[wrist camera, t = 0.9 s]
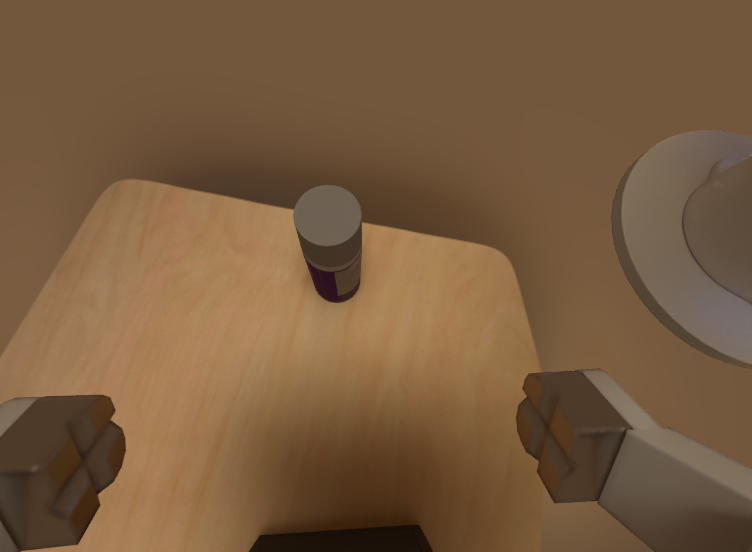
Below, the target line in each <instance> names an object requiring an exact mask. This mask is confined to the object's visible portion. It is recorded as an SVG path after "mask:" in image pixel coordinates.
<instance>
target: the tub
mask: <svg viewBox="0 0 752 552" xmlns="http://www.w3.org/2000/svg"><path fill="white" fill-rule="evenodd" d="M249 552H433V551H432V549H431V547H430V545H429V543H428V541H427V539H426V537H425V535H424V533H423V531H422V529H421V527H420V525H406V526H391V527H376V528H361V529H346V530H332V531H317V532H302V533H287V534H272V535H260V536H259V537H258V539H257V540H256V542H255V543H254V545H253V546H252V548H251V549H250V551H249Z"/></svg>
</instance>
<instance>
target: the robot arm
mask: <svg viewBox="0 0 752 552" xmlns="http://www.w3.org/2000/svg"><path fill="white" fill-rule="evenodd" d="M683 228H684V234H685V237H686V241H687V244H688V246H689V248H690V250H691V252H692V254H693V256H694V258H695V259H696V261H697V262H698V263H699V265H700V266H701V267H702V269H703V270H704V271H705V272H706V273H707V274H708V275H709V276H710V277H711V278H712V279H713V280H714V281H715V282H717V283H718V284H719V285H721V286H722V287H723V288H725V289H726V290H728V291H730V292H731V293H733V294H735V295H737V296H739V297H741V298H742V299H744V300H746V301H747V302H749V303H750V304H751V305H752V154H751V155H749V156H747V157H746V158H744V159H742V160H739V159H733V158H724V159H722V160H720V161H718V162H716V163H715V164H714V165H713V167H712V169H711V171H710V174H709V177H708V179H707V181H706V182H705V183H704V184H702V185H701V186H700V187H699V188H697V189H696V190H695V191H694V192H693V193H692V194H691V196H690V197H689V199H688V201H687V203H686V205H685V209H684V214H683ZM522 389H523V391H524V392H525V394H526V395H527V397H526V398H525V399H524V400H523V401H522V402H521V403H520V404H519V405H518V410H517V415H516V423H517V431H518V434H519V437H520V441H521V443H522V445H523V447H524V449H525V450H526V452H527V453H528V454H530V455H531V456H533V457H534V458H535V459H537V460H538V461H539V463H538V468H537V473H538V475H539V476H540V478H541V480H542V482H543V484H544V485H545V487H546V489H547V491H548V493H549V494H550V496H551V498H552V500H553V502H554V503H567V502H585V501H598V504H599V505H600V506H601V507H602V508H604V509H605V510H606V511H607V512H608V513H610V514H611V515H612V516H613V517H614V518H615V519H617V520H618V521H619V522H620V523H621V524H622V525H624V526H625V527H626V528H627V529H628V530H630V531H631V532H632V533H633V534H634V535H635V536H637V537H638V538H639V539H640V540H641V541H643V542H644V543H645V544H646V545H647V546H648V547H650V548H651V549H652V550H653V551H654V552H752V469H751V468H749V467H747V466H745V465H743V464H741V463H739V462H737V461H735V460H733V459H731V458H729V457H727V456H725V455H723V454H721V453H719V452H717V451H715V450H713V449H711V448H709V447H707V446H705V445H703V444H701V443H700V442H697V441H695V440H693V439H692V438H689V437H688V436H685V435H684V434H682V433H680V432H678V431H676V430H674V429H672V428H670V427H669V428H662V427H661V426H660V425H659V424H658V423H656V421H655V420H654V419H653V418H652V417H651V416H650V415H649V414H648V413H647V412H646V411H645V410H644V409H643V408H642V407H641V406H640V405H639V404H638V403H637V402H636V401H635V400H634V399H633V398H632V397H631V396H630V395H629V394H628V393H627V392H626V391H625V390H624V389H623V388H622V387H621V386H620V385H619V384H618V383H617V382H616V381H615V380H614V379H613V378H612V377H611V376H610V375H609V374H608V373H607V372H605V371H603V370H601V369H587V370H575V371H563V372H544V373H529V374H528V375H527V377H526V378H525V380H524V384H523V388H522ZM115 411H116V410H115V408H114V405H113V403H112V400H111V398H110V397H108V396H105V395H76V396H46V397H24V398H14V399H12V400H9V401H6V402H4V403H3V404H2V405H1V406H0V552H20V551H25V550H34V549H42V548H51V547H60V546H68V545H77V544H79V542H80V540H81V538H82V537H83V535H84V533H85V531H86V530H87V528H88V526H89V524H90V523H91V521H92V519H93V517H94V516H95V514H96V512H97V510H98V509H99V507H100V501H99V497H98V494H99V493H100V492H101V491H102V490H104V489H105V488H106V487H108V486H109V485H110V484H111V483H113V482H114V480H115V478H116V477H117V475H118V473H119V471H120V469H121V467H122V464H123V460H124V456H125V452H126V444H125V436H124V433H123V430H122V428H121V427H119V426H118V425H116V424H115V423H114V422H112V421H111V420H110V419H111V418H112V416H113V415H114V413H115Z"/></svg>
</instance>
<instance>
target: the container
mask: <svg viewBox="0 0 752 552" xmlns="http://www.w3.org/2000/svg"><path fill="white" fill-rule="evenodd" d="M294 223H295V227H296V230H297V234H298V237H299V241H300V244H301V248H302V252H303V255H304V258H305V260H306V263H307V266H308V269H309V271H310V274H311V277H312V280H313V283H314V285H315V288H316V290H317V292H318V294H319V295H320V296H321V297H322V298H324V299H325V300H327V301H330V302H334V303H340V302H344V301H347V300H349V299H350V298H352V297H353V296H354V295H355V293H356V292H357V290H358V288H359V284H360V271H361V253H362V219H361V208H360V205H359V203H358V201H357V200H356V198H355V197H354V196H353V195H352V194H351V193H350V192H348V191H347V190H345V189H343V188H341V187H338V186H333V185H323V186H318V187H315V188H313V189H310V190H309V191H307V192H306V193H305V194H304V195H302V196H301V198H300V199H299V200H298V202H297V204H296V206H295V209H294Z"/></svg>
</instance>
